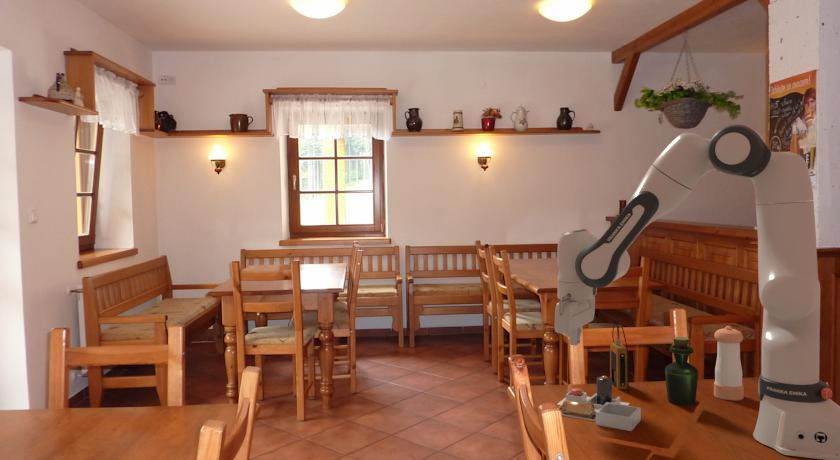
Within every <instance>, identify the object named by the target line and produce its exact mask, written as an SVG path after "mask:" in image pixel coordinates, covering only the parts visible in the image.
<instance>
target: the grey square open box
mask: <svg viewBox="0 0 840 460" xmlns="http://www.w3.org/2000/svg"><path fill="white" fill-rule="evenodd" d="M641 413H642V408H641V407H640V406H639V407H638V406H633V405H628V406H627V405H621V404H615V403H608V402H606V403H605V404H604V405H603V406H602V407H601V408H600V409H599V410H598V411H596V413H595V417H596V421H595V425H596V426H601V427H606V428H612V429H617V430H623V431H628V432H629V431H630V432H632V431H633V430H634V429H635V428H636V426H637V425H638V424H639V423H640V422H641V421H642V419H641V418H642V417H641V415H642V414H641Z"/></svg>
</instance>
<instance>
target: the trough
mask: <svg viewBox="0 0 840 460" xmlns="http://www.w3.org/2000/svg"><path fill="white" fill-rule="evenodd" d="M558 407H559V408H560V409H559V410H562V405H558ZM595 414H596V411H595ZM562 415H563V416H562V417H566V418H572V419H577V420H578V419H579V420H585V421H589V422H595V423H596V416H595V417H594V418H585V417H579V416H574V415H568V414H563V413H562Z"/></svg>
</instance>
